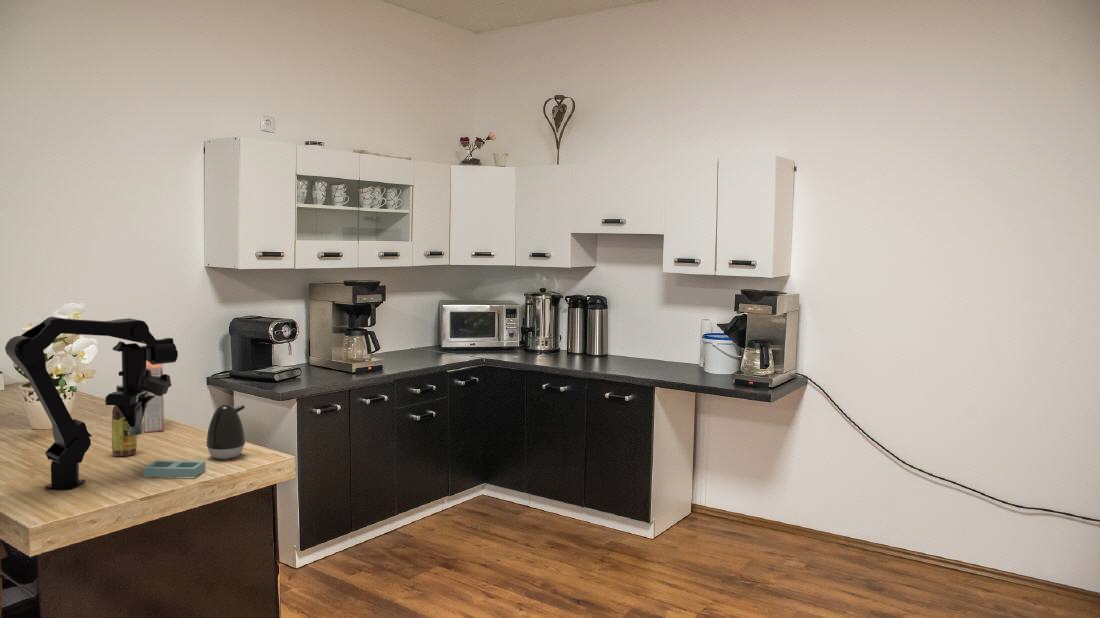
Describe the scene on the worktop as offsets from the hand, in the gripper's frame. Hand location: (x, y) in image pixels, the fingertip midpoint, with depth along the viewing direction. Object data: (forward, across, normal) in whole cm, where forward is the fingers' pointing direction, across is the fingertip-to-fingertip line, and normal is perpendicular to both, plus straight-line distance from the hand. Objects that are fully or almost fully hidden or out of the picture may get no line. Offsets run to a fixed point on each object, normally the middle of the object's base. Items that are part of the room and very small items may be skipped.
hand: (135, 425), depth 209 cm
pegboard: (+12, -2, -11) cm, 17 cm away
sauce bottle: (+13, +16, +11) cm, 23 cm away
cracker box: (+13, +48, +18) cm, 53 cm away
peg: (+2, 0, 0) cm, 2 cm away
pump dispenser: (+13, +15, -18) cm, 26 cm away
